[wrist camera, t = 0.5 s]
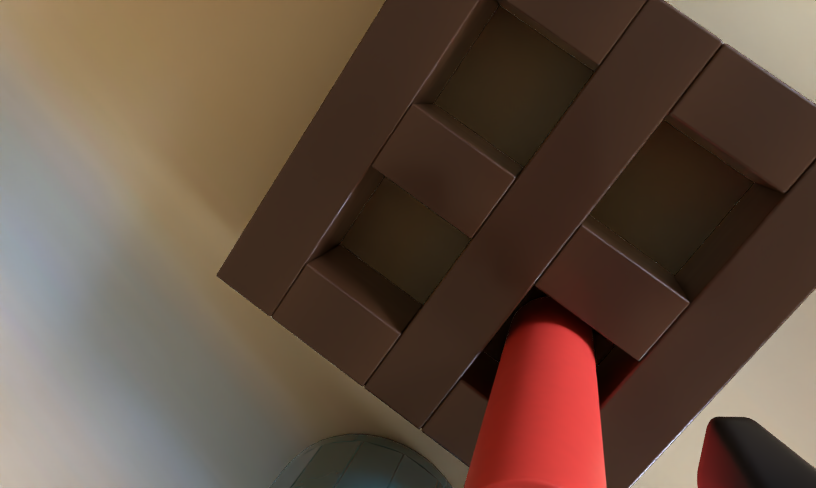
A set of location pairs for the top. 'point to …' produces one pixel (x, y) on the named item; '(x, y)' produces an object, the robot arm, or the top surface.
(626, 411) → the block with rectangular holes
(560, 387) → the red cylinder rod
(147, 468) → the top surface
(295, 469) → the tumbler
